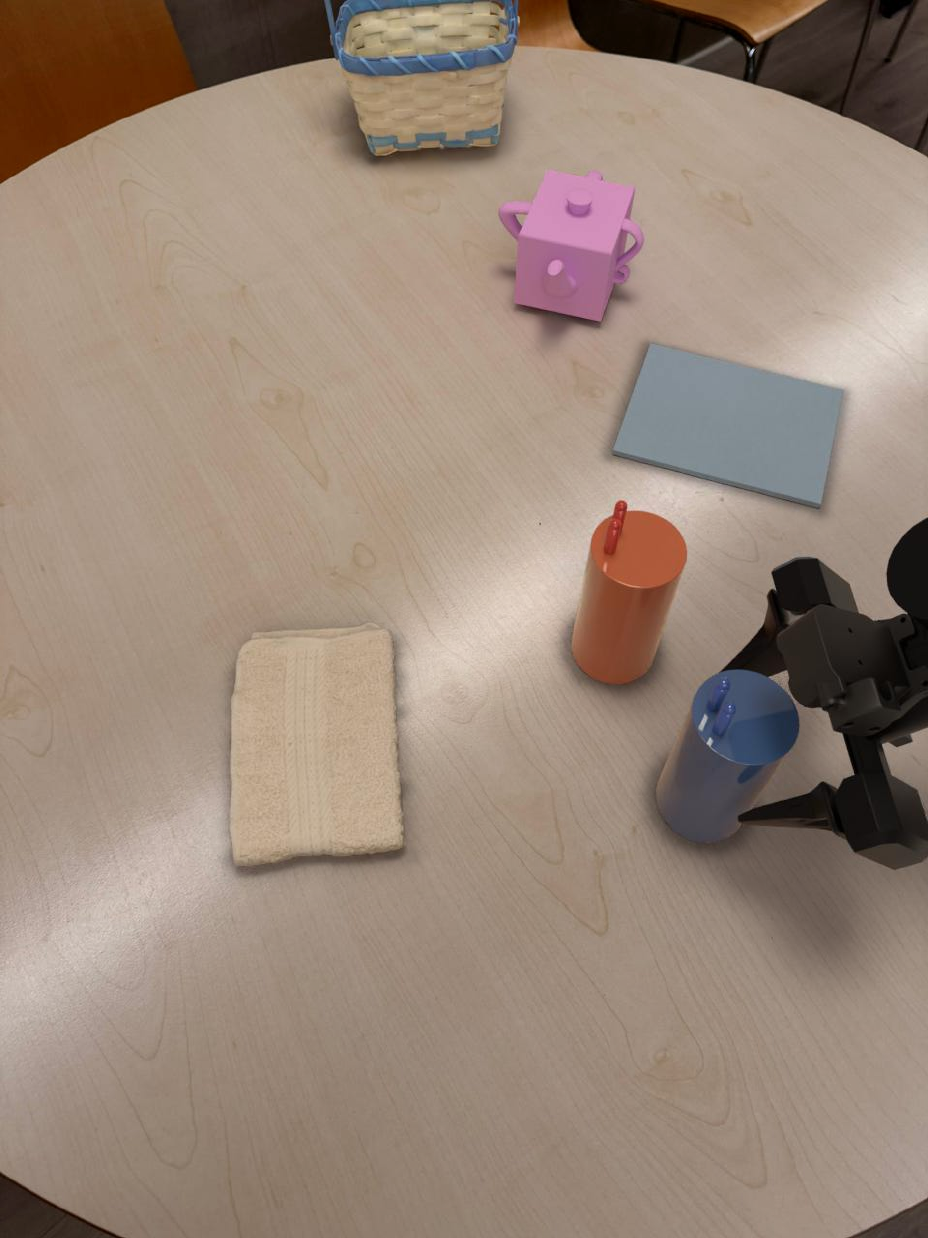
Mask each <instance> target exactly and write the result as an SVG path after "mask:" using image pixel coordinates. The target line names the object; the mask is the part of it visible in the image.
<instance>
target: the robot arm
mask: <svg viewBox="0 0 928 1238" xmlns="http://www.w3.org/2000/svg"><path fill="white" fill-rule="evenodd" d="M770 574H771V577H772V581H773V584H774V588H775V589H774V588H770V589H769V590H768V591H767V593H766V600H767V609H766V612H765V616H764V620H763V623H762V625H761V626H760V628H759V629H758V630H757V632H756V633H755V634H754V635H753V637H751V639H750V640H749V641H748V643H747V644H746V645H745V646H743V648H742V649H741V650H740V651H739V652H738V653H737V654H736V655H735V656H734V657H733V658H732V659H731V660H730V661H729V662H728V663H727V664H726V665H725V666H724V667H723V668H722V669H721V670H720V671H719V672H718V673H720V672H724V671H728V670H748V671H753V672H756V673H759V674H762V675H764V676H766V677H768V678H770V677H772V676H776V675H778V674H780V673H783V672H786V671H787V675H788V680H787V685H788V689H789V692H790V694H791V696H792V698H793V699H794V701H796V702H797V703H798V704H799V705H801V706H803V707H804V708H808V709H821V710H822V711H823V712H827V714H828V717H829V721H830V725H831V728H832V731H833V732H836V733H840V734H842V738H843V740H844V745H845V748H846V751H847V755H848V758H849V762H850V764H851V768H852V771H853V775H850V776H847V777H844V778H842V780H841V782H840V784H839V786H838V787H836V786H834V785H832V784H830V783H828V782H826V781H824V780H822V781H820V782H819V783H818V784H817V785H816V786H815V787H814V788H812V790H811V791H809V792H807V793H804V794H800V795H797V796H793V797H789V798H786V799H782V800H777V801H775V802H771V803H767V804H764V805H763V804H762V805H760V806H757V807H753V808H752V809H751V810H749V811H747V812H745V813H742V814H740V815H738V817H737V818H738V822H739V823H742V825H744V826H753V827H769V828H771V827H772V828H773V827H774V828H793V829H809V830H822V831H828V832H832V833H833V834H834V835H835V836H836V837H838V838H840V839H842V840H844V841H846V842H847V844H848V845H849V847H850V849H851V850H852V852H853V853H854V854H856V855H859V856H861V857H863V858H865V859H867V860H870V861H872V862H874V863H877V864H879V865H881V866H884V867H886V868H888V869H891V870H893V871H897V870H900V869H904V868H906V867H910V866H914V865H917V864H921V863H923V862H924V861H925V860H926V859H927V858H928V819H927V815H926V812H925V809H924V805H923V802H922V800H921V797H920V794H919V791H918V789H917V788H915V787H913V786H912V785H910V784H908V783H906V782H905V781H903V780H901V779H900V778H897V777H896V776H894V775H893V774H892V771H891V769H890V765H889V762H888V759H887V756H886V753H885V750H884V746H883V745H885V744H887V743H888V744H890V745H892V746H893V747H895V748H900V747H903V746H905V745H908V744H911V743H913V742H914V741H913V738H912V735H911V734H915V733H917V732H920V731H923V730H926V729H928V517H925V518H923V519H922V520H921V521H919V522H917V523H915V524H914V525H912V526H911V527H910V529H908V530H907V531H906V532H905V533H904V534H903V535H902V536H901V537H900V539H899V540H898V541H897V543H896V544H895V546H894V547H893V548H892V551H891V553H890V556H889V558H888V561H887V566H886V572H885V575H886V586H887V589H888V592H889V595H890V596H891V598H892V600H893V601H894V602H895V604H896V605H897V606H898V607H899V608H900V609H901V610H903V611H904V612H905V613H900V614H897V615H895V616H893V617H891V618H885V619H877V620H873V619H872V618H871V617H870V616H868V615H866V614H864V613H860V612H859V608H858V606H857V602H856V599H855V596H854V593H853V589H852V587H851V584H850V583H849V582H848V581H847V580H845V579H844V578H843V577H842V576H840V575H839V574H838V573H836V571H834V570H833V569H832V568H830V567H829V566H828V565H827V564H825V563H824V562H823V561H821V560H820V559H819V558H817V557H813V556H796V557H793V558H791V559H790V560H788V561H786V562H783V563H781V564H780V565H777V566H776V567H774V568H773V569H772V570H771V572H770Z"/></svg>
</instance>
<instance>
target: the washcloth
mask: <svg viewBox="0 0 928 1238" xmlns="http://www.w3.org/2000/svg"><path fill="white" fill-rule="evenodd" d="M394 643H395V641H394V636H393V633H392V631H391V630H390V629H388V628H382V626H380V625H378V624H376V623H374V622H372V621H366V623H363V624H361V625H358V626H349V627H340V628H338V627H334V628H332V627H330V628H314V629H286V630H274V631H261V632H260V631H254V632H252V633H251V636H250V639H248V640H247V641H246V642H245V643H243V644H242V646H241V647H240V648H239V650H238V654H237V657H236V661H235V662H236V663H235V677H234V684H233V692H232V694H231V697H230V759H229V770H230V773H229V775H230V806H229V833H230V834H229V835H230V841H231V848H232V849H231V850H232V855H231V856H232V861H233V865H234V866H235V867H244V866H245V867H251V866H252V867H253V866H261V865H266V864H275V863H280V862H284V861H287V860H289V861H291V860H292V858H294V857H295V858H297V857H312V856H315V857H316V856H317V857H319V856H323V855H328V856H332V857H349V856H354V855H357V856H359V855H365V854H370V855H374V854H376V853H385V852H391V851H398V850H401V849H403V848H404V847H407V841H406V837H405V829H404V828H405V827H404V817H405V813H404V811H403V809H402V808H403V805H402V799H401V794H402V787H401V783H402V782H401V781H402V779H401V770H400V758H399V757H400V755H399V749H400V746H399V742H398V741H399V737H400V736H399V732H398V730H399V729H398V728H397V726H398V722H397V721H398V716H397V710H398V708H397V701H396V695H395V694H396V688H397V686H396V680H395V677H396V674H395V672H396V671H395V665H394V664H395V649H394V647H395V646H394Z"/></svg>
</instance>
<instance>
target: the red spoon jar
mask: <svg viewBox="0 0 928 1238" xmlns="http://www.w3.org/2000/svg"><path fill="white" fill-rule="evenodd" d="M687 559H688V548H687V544H686V541H685V538H684V536H683V535H682V533H681V532H680V530H679V529H678V528H677V527H676V526H675V525H674V524H673V523H671V521H669V520H668V519H666V518H665V517H663V516H660V515H658V514H656V513H653V512H649V511H645V510H628V503H627V501H626V500H623V499H620V500H618V501H616V502H615V504H614V508H613V514H612V515H610V516H608V517H606V518H604V520H602V521H601V522H600V523H599V524H598V525H597V526H596V528H595V529H594V531H593V533H592V535H591V540H590V544H589V548H588V554H587V559H586V564H585V569H584V574H583V580H582V584H581V589H580V590H581V591H580V596H579V601H578V606H577V611H576V615H575V622H574V626H573V632H572V637H571V644H570V645H571V646H570V647H571V653H572V656H573V659H574V661H575V662H576V664H577V666H578V667H579V668H580V669H581V670H582V672H584V673H585V674H586V675H588V677H590V678H592V679H593V680H596V681H598V682H601V683H605V684H609V685H622V684H623V685H624V684H627V683H628V684H629V683H631V682H634V681H636V680H638V679H640V678H642V677H643V676H644V675H645V674H646V673H647V672H648V671H649V670H650V668H651V666H652V665H653V663H654V660H655V657H656V653H657V651H658V648H659V645H660V642H661V639H662V635H663V633H664V630H665V627H666V624H667V620H668V617H669V615H670V612H671V609H672V606H673V602H674V600H675V596H676V594H677V590H678V587H679V585H680V582H681V579H682V576H683V573H684V570H685V566H686V563H687V561H688V560H687Z"/></svg>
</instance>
